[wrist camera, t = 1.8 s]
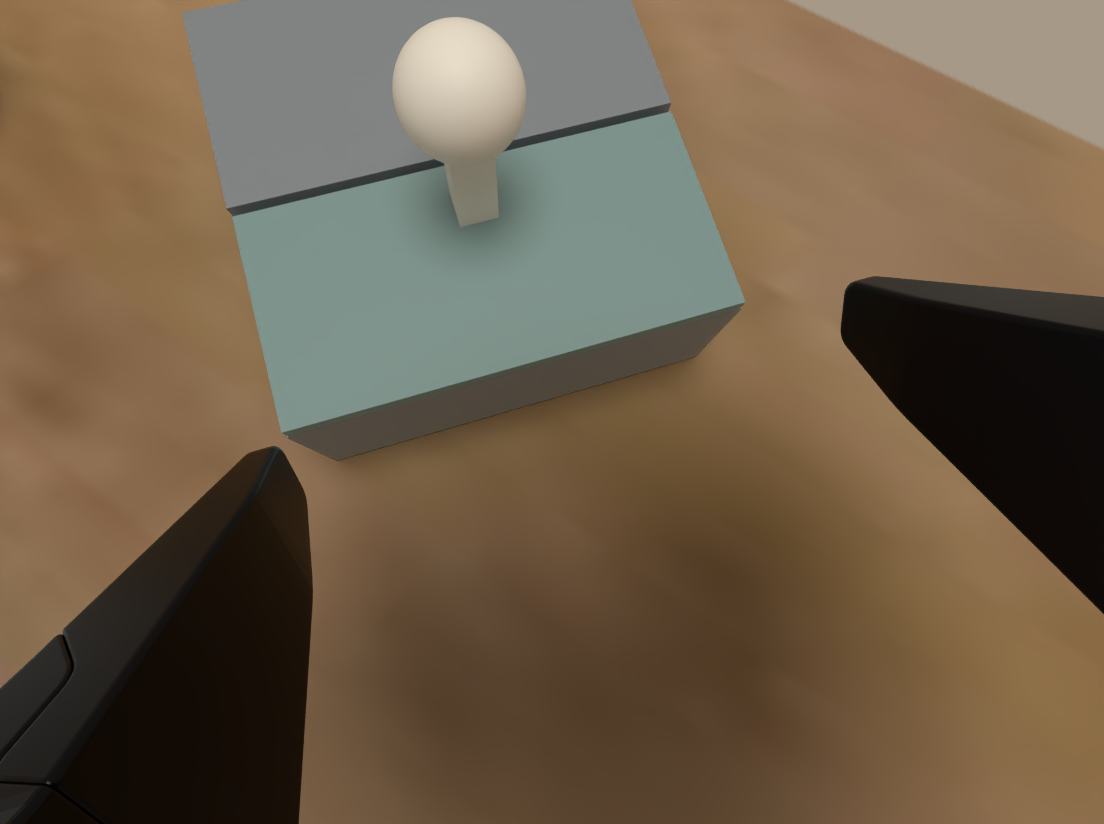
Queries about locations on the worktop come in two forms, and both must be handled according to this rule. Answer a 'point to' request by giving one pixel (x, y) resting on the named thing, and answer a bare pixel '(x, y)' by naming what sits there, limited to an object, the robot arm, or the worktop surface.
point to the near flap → (477, 246)
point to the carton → (387, 151)
